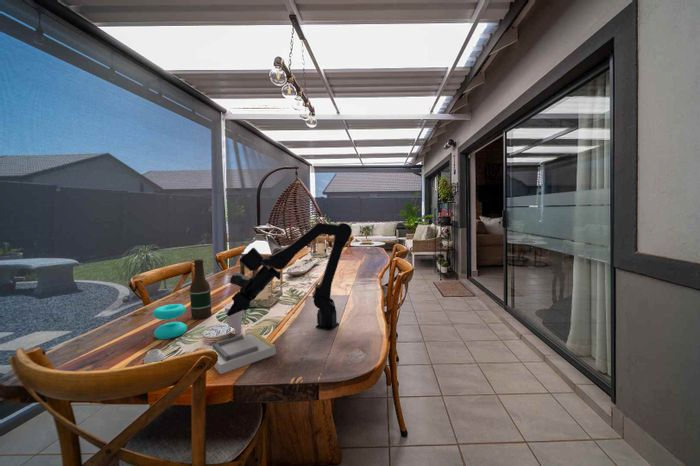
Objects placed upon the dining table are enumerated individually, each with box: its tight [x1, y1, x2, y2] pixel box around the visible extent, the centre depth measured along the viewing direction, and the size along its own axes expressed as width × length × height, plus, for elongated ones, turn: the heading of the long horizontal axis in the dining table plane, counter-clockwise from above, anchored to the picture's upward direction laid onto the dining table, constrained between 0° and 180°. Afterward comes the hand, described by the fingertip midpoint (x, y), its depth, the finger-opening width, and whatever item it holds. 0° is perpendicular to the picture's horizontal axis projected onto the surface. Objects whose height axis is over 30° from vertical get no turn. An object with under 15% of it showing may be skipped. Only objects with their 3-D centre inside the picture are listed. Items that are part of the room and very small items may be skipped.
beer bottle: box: [189, 259, 212, 320], centre depth 123 cm, size 8×8×24 cm
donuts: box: [152, 303, 188, 340], centre depth 105 cm, size 10×10×10 cm
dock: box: [204, 332, 277, 375], centre depth 89 cm, size 16×14×4 cm
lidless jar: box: [143, 348, 165, 365], centre depth 86 cm, size 5×3×5 cm
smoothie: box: [224, 293, 244, 335], centre depth 106 cm, size 6×6×14 cm
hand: (230, 312), depth 106 cm, fingers closed on smoothie, 6 cm apart
